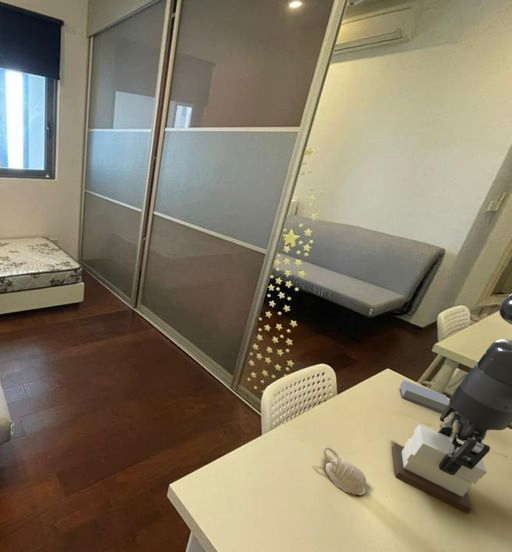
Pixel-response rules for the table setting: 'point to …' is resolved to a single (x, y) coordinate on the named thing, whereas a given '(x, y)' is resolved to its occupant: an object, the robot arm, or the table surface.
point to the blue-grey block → (424, 397)
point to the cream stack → (431, 475)
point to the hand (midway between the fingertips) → (441, 457)
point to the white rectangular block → (442, 448)
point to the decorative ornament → (345, 474)
